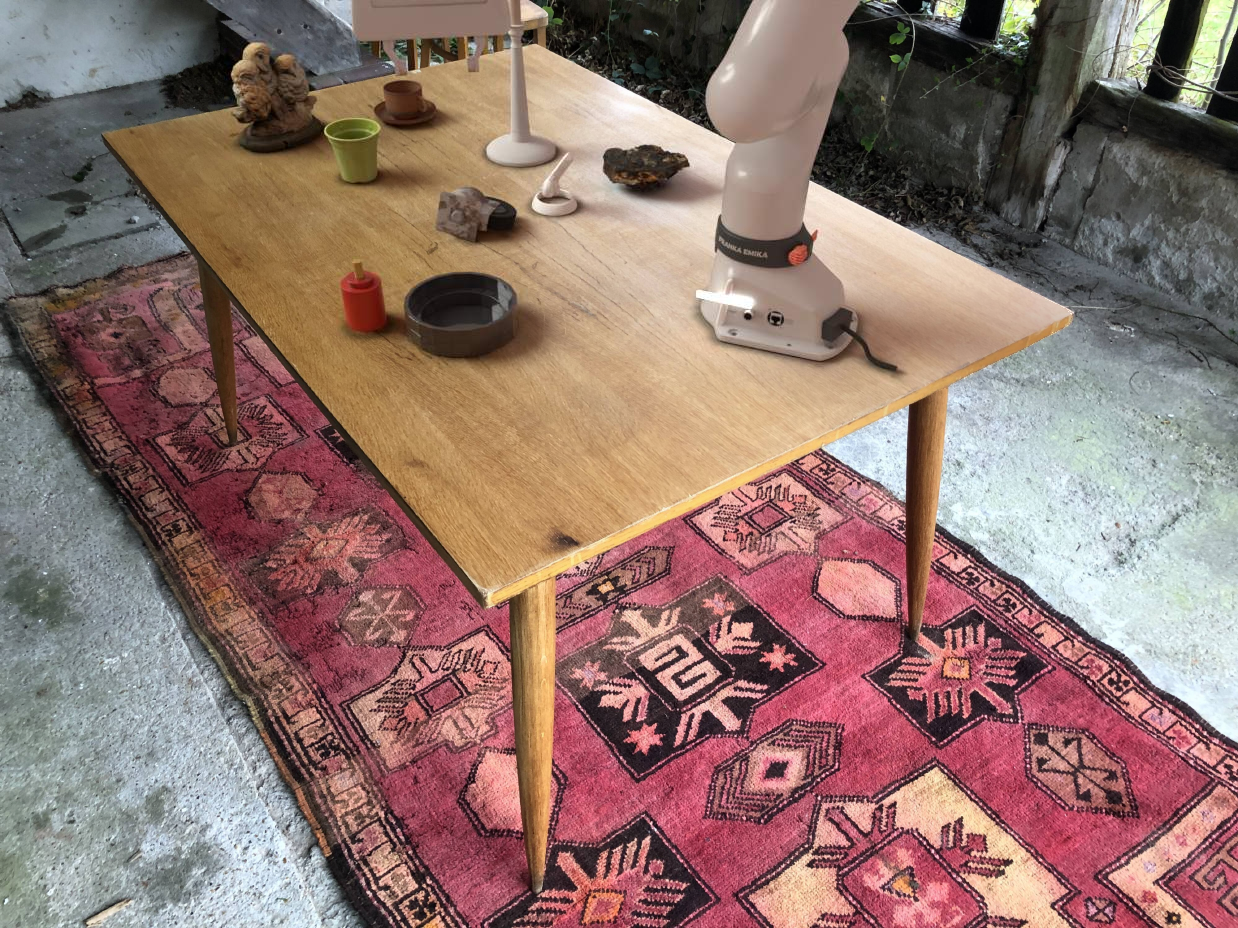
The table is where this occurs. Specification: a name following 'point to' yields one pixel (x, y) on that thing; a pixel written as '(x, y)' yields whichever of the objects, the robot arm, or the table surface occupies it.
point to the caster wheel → (472, 213)
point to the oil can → (363, 299)
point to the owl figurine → (272, 101)
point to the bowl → (461, 314)
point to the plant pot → (355, 147)
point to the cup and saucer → (404, 104)
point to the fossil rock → (642, 166)
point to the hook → (555, 192)
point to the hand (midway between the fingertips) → (437, 73)
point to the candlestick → (519, 111)
